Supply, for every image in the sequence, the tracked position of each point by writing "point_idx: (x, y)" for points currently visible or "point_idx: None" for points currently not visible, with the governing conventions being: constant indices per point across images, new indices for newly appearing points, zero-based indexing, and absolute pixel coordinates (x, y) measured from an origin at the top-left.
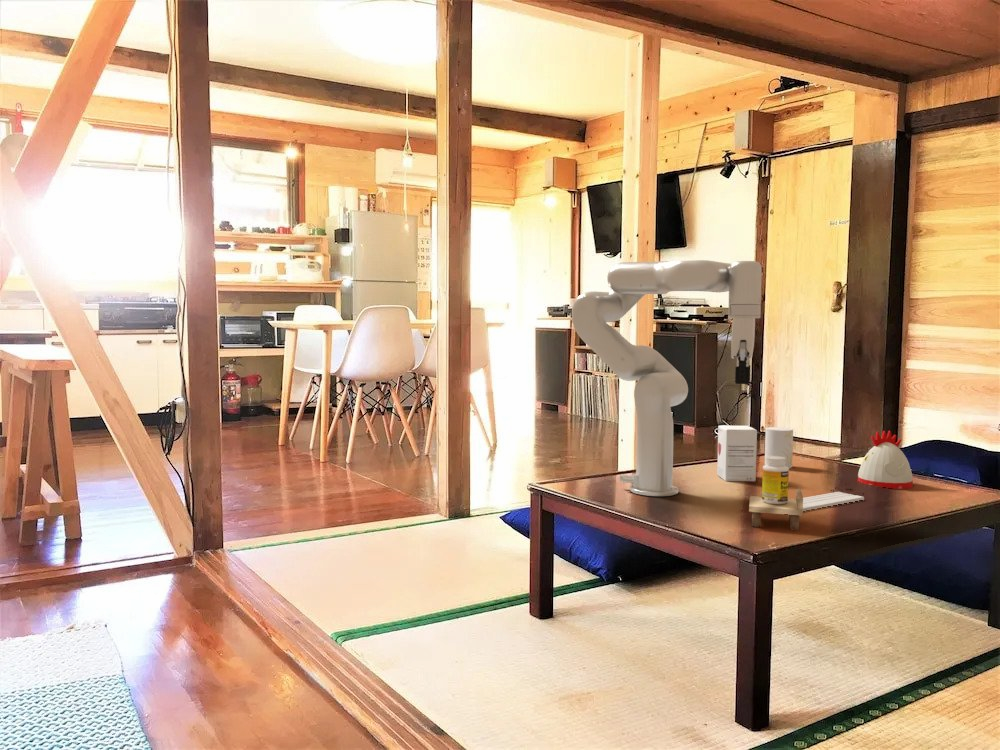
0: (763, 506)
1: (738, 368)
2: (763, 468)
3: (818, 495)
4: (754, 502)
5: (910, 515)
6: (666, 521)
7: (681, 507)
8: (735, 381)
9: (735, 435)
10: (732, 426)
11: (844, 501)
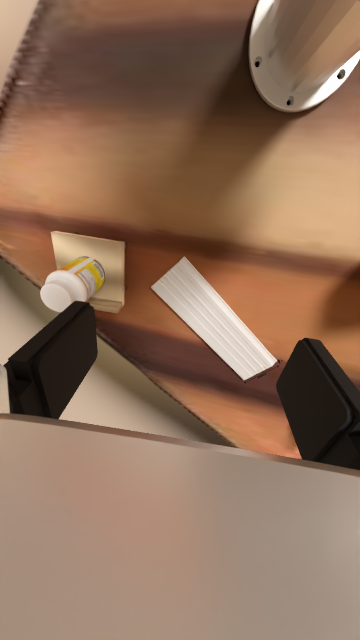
0: (59, 252)
1: (22, 369)
2: (56, 271)
3: (248, 341)
4: (79, 243)
5: (179, 392)
6: (45, 81)
7: (160, 118)
8: (73, 304)
9: None
10: None
11: (222, 358)
